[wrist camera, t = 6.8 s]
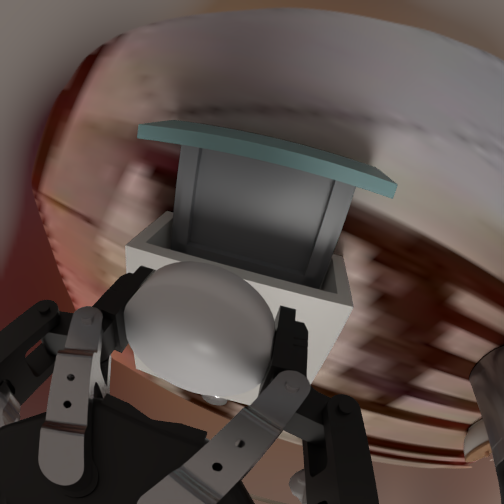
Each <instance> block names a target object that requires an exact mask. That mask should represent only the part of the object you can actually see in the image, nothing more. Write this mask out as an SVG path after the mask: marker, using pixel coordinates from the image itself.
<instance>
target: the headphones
mask: <svg viewBox="0 0 504 504" xmlns="http://www.w3.org/2000/svg"><path fill="white" fill-rule="evenodd" d="M289 486H290V488H291V491H292V493H293V495H295V496H296V497H298V498H299V500H300V502H301V503H302V504H307V502H306V485H305V469H302V470H300V471H298V472H297V473H295V474H294V475H293V476H292V477H291V478H290V482H289Z"/></svg>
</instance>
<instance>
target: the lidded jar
mask: <svg viewBox="0 0 504 504" xmlns="http://www.w3.org/2000/svg"><path fill="white" fill-rule="evenodd" d="M490 453H492V451H491V447H490V443H489V439H488V435H487V432H486V428H485V425H484V421H483V419H481V420H479V421H477V422H476V423H474V424H473V425H472V426H471V427H470V428H469V429H468V433H467V434H466V437H465V439H464V455H465V461H466V462H472V461H476V460H478V459H481V458H483V457H485V456H486V458H487V457H489V456H490Z"/></svg>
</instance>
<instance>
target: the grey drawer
mask: <svg viewBox="0 0 504 504" xmlns="http://www.w3.org/2000/svg"><path fill="white" fill-rule="evenodd" d="M137 138H140V139H148V140H155V141H162V142H169V143H175V144H181V152H180V160H179V167H178V175H177V184H176V193H175V202H174V213H173V224H172V236H171V250H173V251H177V252H180V253H184V254H188V255H191V256H195V257H198V258H202V259H206V260H209V261H213V262H217V263H220V264H224V265H228V266H231V267H235V268H239V269H242V270H246V271H250V272H254V273H257V274H261V275H265V276H269V277H273V278H276V279H280V280H284V281H288V282H292V283H296V284H300V285H303V286H307V287H311V288H315V289H319V288H320V286H321V283H322V281H323V278H324V276H325V273H326V270H327V268H328V265H329V263H330V260H331V257H332V255H333V252H334V249H335V247H336V244H337V241H338V238H339V235H340V233H341V230H342V227H343V224H344V221H345V218H346V215H347V212H348V209H349V206H350V203H351V200H352V197H353V194H354V191H355V188H356V187H359V188H362V189H365V190H368V191H371V192H374V193H377V194H380V195H383V196H386V197H389V198H392V199H393V197H394V194H395V191H396V188H397V184H396V183H395V182H394V181H392V180H391V179H390V178H389V177H388V176H386V175H385V174H384V173H383V172H381V171H380V170H379V169H377V168H376V167H373V166H370V165H367V164H364V163H361V162H358V161H355V160H352V159H349V158H346V157H343V156H340V155H336V154H333V153H330V152H326V151H323V150H319V149H316V148H312V147H308V146H305V145H301V144H297V143H293V142H289V141H285V140H281V139H277V138H273V137H268V136H264V135H259V134H255V133H250V132H245V131H240V130H235V129H229V128H224V127H218V126H212V125H206V124H200V123H193V122H186V121H179V120H169V121H160V122H152V123H145V124H139V127H138V135H137Z"/></svg>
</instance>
